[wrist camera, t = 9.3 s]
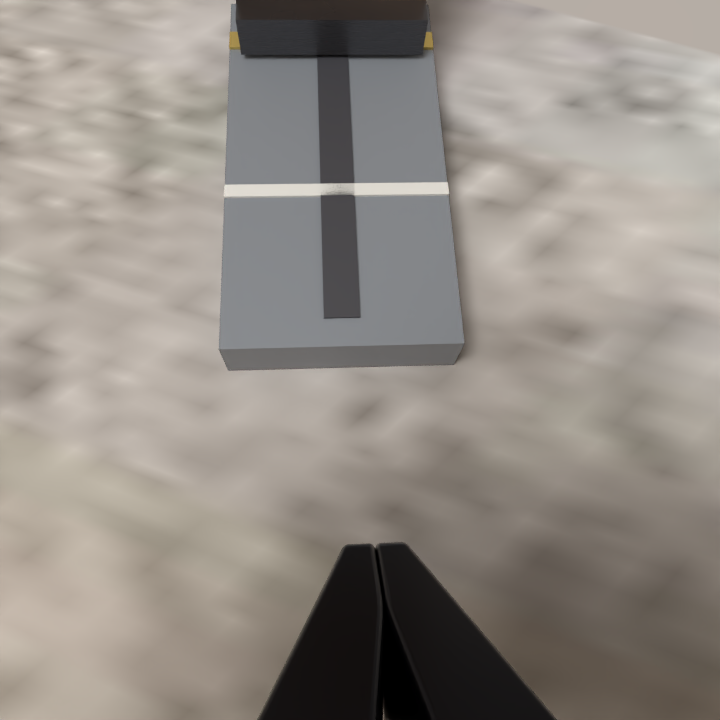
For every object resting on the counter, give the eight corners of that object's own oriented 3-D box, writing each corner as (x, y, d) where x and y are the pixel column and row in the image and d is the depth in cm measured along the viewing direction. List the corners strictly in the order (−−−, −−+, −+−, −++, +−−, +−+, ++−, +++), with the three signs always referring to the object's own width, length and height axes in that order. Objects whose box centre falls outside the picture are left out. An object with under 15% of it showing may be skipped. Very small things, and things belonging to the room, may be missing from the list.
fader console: (453, 364, 23) (465, 341, 21) (228, 370, 23) (218, 348, 21) (421, 44, 29) (428, 2, 27) (238, 44, 28) (230, 1, 26)
